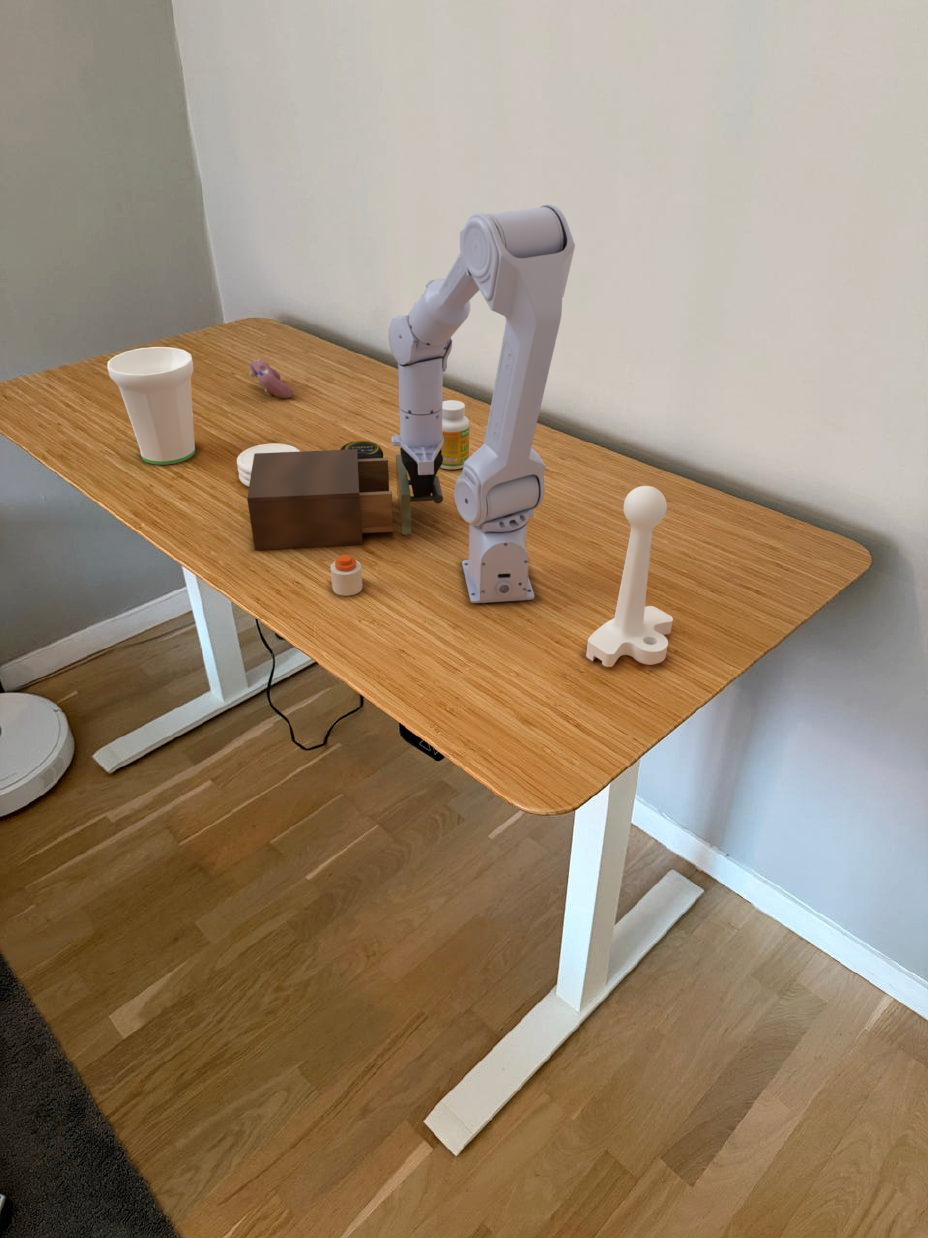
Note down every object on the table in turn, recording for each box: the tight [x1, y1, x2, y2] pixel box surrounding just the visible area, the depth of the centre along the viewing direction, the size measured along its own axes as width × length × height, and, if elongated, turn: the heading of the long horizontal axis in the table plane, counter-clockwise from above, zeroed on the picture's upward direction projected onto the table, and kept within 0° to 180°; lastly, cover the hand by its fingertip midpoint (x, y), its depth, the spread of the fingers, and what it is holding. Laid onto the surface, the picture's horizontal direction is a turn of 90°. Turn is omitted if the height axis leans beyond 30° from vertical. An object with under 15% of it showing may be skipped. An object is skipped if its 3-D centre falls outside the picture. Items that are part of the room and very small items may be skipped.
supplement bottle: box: [440, 399, 470, 470], centre depth 139 cm, size 5×5×10 cm
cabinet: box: [246, 449, 363, 551], centre depth 123 cm, size 14×13×8 cm
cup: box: [106, 346, 196, 466], centre depth 139 cm, size 12×12×15 cm
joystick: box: [585, 485, 674, 668], centre depth 97 cm, size 11×8×20 cm
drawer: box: [357, 454, 444, 535], centre depth 124 cm, size 18×12×6 cm
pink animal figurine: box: [248, 358, 294, 399], centre depth 163 cm, size 10×5×7 cm, turn 25°
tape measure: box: [339, 440, 384, 459], centre depth 138 cm, size 7×7×4 cm
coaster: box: [236, 442, 301, 488], centre depth 136 cm, size 10×10×4 cm
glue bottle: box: [329, 554, 364, 597], centre depth 111 cm, size 4×4×4 cm
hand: (421, 497), depth 125 cm, fingers closed, pressing on drawer
